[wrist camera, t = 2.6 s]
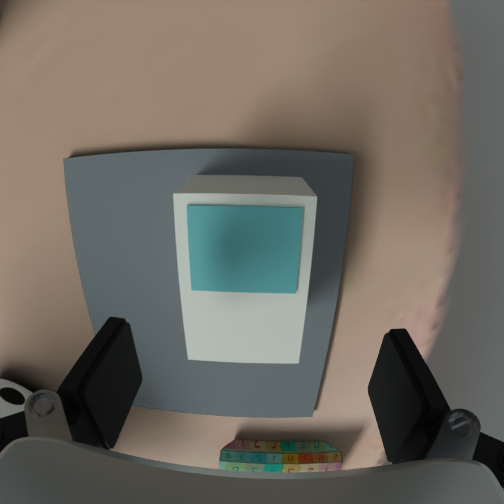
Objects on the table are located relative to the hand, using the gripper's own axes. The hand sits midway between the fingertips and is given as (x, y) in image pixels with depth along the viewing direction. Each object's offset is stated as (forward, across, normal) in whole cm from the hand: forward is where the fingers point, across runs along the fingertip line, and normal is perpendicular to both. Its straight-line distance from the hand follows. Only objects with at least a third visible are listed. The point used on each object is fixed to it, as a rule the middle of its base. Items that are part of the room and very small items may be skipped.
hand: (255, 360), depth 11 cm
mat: (+10, +4, +4) cm, 12 cm away
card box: (+9, +1, -1) cm, 9 cm away
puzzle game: (+11, -2, +30) cm, 32 cm away
